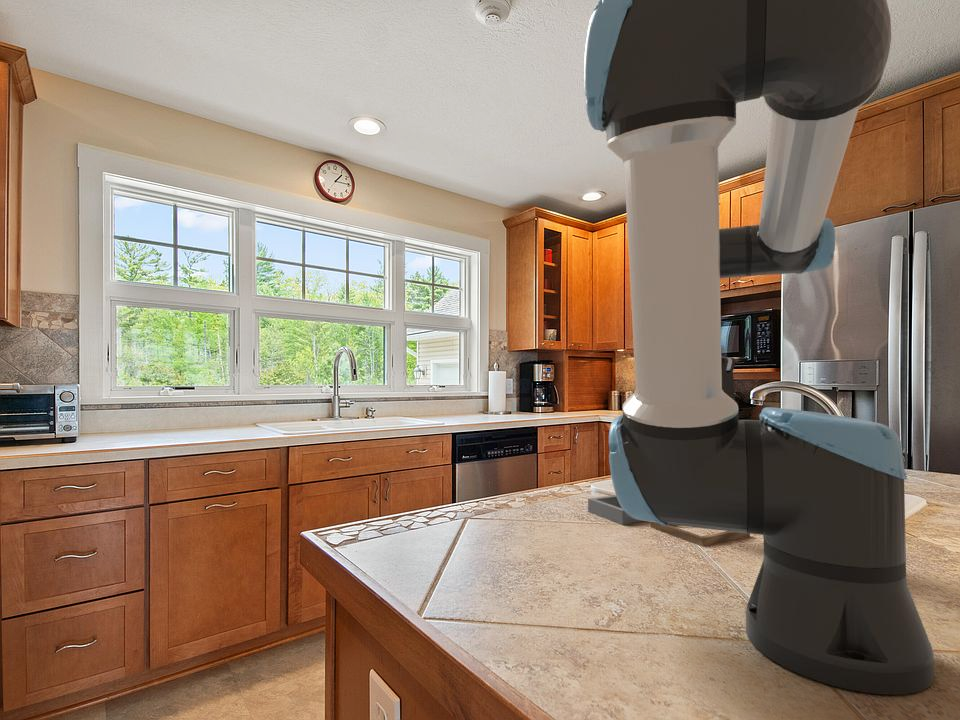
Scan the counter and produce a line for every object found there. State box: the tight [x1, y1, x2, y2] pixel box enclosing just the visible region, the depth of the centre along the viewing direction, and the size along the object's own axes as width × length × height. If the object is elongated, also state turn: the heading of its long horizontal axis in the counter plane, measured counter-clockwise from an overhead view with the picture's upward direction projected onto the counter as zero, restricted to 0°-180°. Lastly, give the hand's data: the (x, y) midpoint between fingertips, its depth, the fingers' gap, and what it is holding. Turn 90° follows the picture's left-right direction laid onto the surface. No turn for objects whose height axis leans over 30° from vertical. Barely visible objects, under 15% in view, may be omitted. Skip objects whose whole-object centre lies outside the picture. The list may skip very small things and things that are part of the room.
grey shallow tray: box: [587, 494, 644, 525], centre depth 102 cm, size 20×10×2 cm, turn 115°
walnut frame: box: [650, 522, 751, 547], centre depth 89 cm, size 11×11×1 cm
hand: (697, 458), depth 89 cm, fingers closed on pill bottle, 6 cm apart
